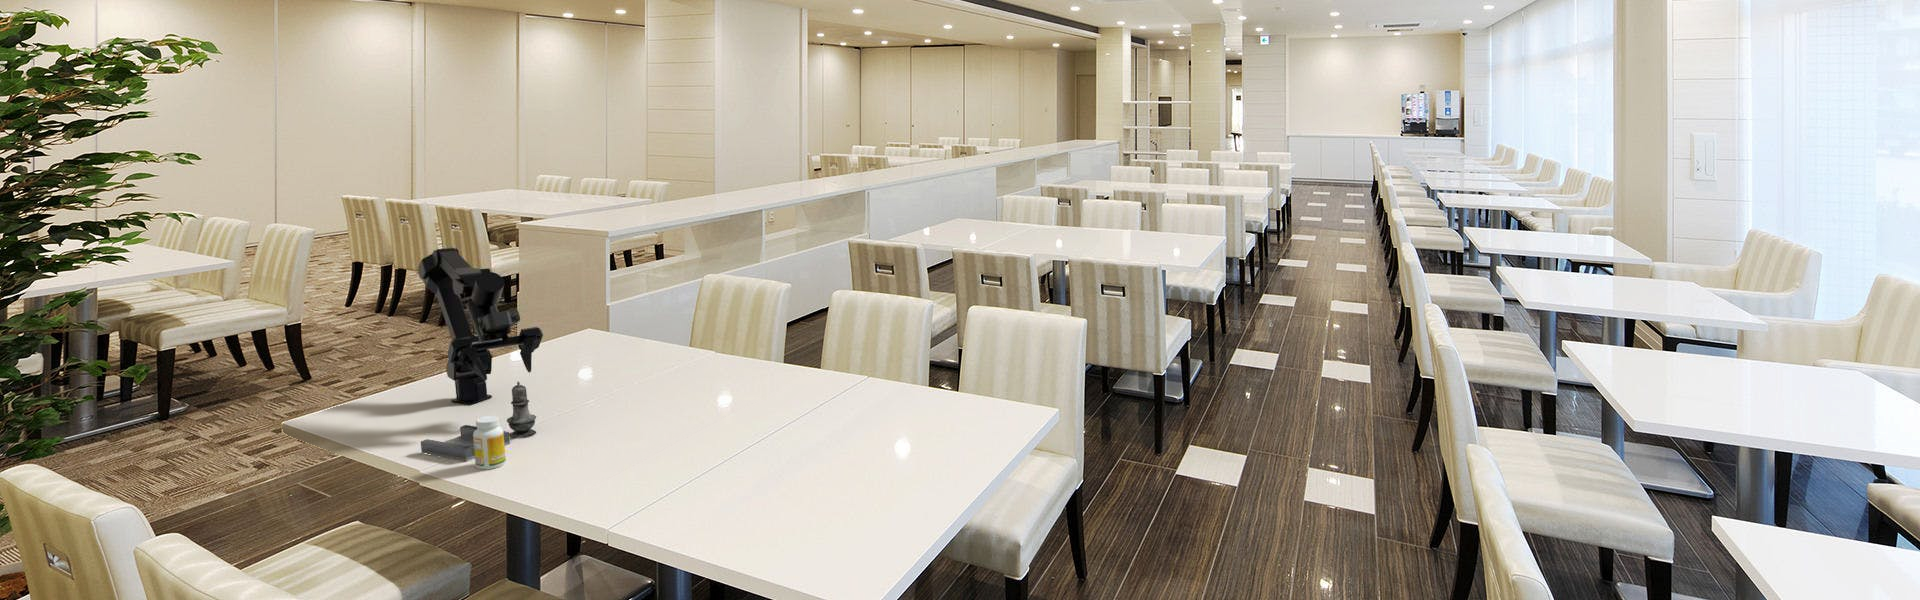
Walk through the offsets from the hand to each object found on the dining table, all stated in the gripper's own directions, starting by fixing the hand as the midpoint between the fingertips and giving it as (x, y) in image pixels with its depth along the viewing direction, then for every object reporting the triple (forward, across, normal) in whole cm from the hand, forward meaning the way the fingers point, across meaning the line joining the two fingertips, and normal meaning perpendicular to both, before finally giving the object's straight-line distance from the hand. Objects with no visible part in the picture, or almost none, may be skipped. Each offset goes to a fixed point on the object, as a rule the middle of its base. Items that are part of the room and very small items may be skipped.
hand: (508, 375), depth 200 cm
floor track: (+13, -12, +4) cm, 18 cm away
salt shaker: (+13, 0, +5) cm, 14 cm away
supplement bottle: (+23, -11, -5) cm, 26 cm away
